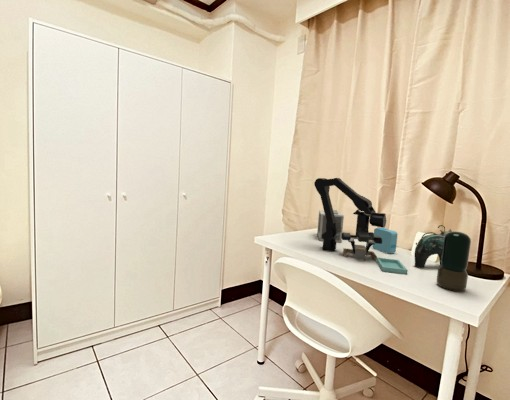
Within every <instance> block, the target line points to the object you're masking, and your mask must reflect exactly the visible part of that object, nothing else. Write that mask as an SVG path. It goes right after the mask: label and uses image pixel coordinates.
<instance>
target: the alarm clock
mask: <svg viewBox="0 0 510 400" xmlns="http://www.w3.org/2000/svg"><path fill="white" fill-rule="evenodd" d="M333 212H334V216H335V219H336V221H337V222H340V225H341V228H342V229H341V233H340V234H339V235H338V236H337V238H335V239H336V240H335V241H336V244H342V242H343V240H342V238H341V236H342V233H343V230H344V229H343V228H344V227H343V226H344V217H345V215H344V214H343V213H342V212H341V211H338V210H337V209H333ZM317 219H318V220H317V230H316V231H317V233H316V235H317V237H318V241H319V242H322V243H323V239H322V236H321V235H322V234H323V233H325V232H326V217H325V213H324V210H319V211H318V218H317Z"/></svg>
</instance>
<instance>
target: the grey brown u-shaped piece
mask: <svg viewBox="0 0 510 400" xmlns="http://www.w3.org/2000/svg"><path fill="white" fill-rule="evenodd" d="M342 254H343V256H344V258H347V257H348V254H353V255H354V253H353V249H352V248H346V247H345V248H343V250H342ZM366 256H371V257H372V259H373V261H376V257H377V258H378V256H377V255H376V253H375V251H372V250H368V252H367V254H366Z"/></svg>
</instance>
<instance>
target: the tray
mask: <svg viewBox="0 0 510 400" xmlns="http://www.w3.org/2000/svg"><path fill="white" fill-rule="evenodd" d="M375 262H376V263H377V265H378V267H379V269H380V270H381V271H382V272H383V273H393V274H399V275H408V269H407V267H406V266H405V265H404V264H403V263H402V262H401V260H400V259H393V258H386V257H384V258H383V257H378V256H377V257H376V260H375Z"/></svg>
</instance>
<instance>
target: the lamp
mask: <svg viewBox="0 0 510 400" xmlns="http://www.w3.org/2000/svg"><path fill="white" fill-rule="evenodd" d="M471 243H472V241H471V238H470V236H469V235H468V234H467V233H464V232H462V231H457V230H456V231H452V232H448V233H447V234H446V235H445V236H444V241H443V248H442V256H441V266H440V265H439V267H438V268H437V273H436V283H437V285H439V287H441V288H443V289H446V290H449V291H454V292H462V291H464V290H466V289H467V285H468V277H469V274H468V272H467V268H468V265H469V258H470V251H471Z"/></svg>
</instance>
